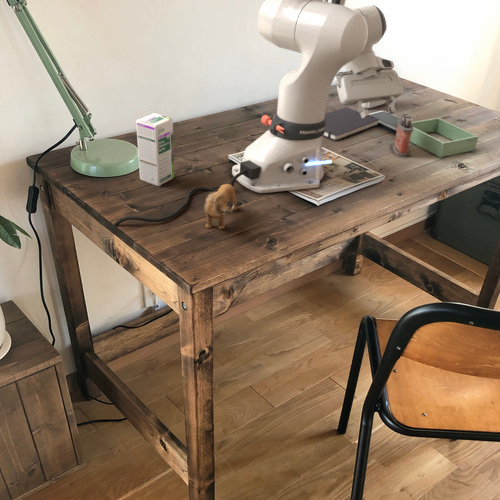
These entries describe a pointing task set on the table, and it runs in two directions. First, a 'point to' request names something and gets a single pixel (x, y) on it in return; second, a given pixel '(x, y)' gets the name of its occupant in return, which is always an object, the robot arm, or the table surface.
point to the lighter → (403, 135)
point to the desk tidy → (460, 137)
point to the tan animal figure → (219, 204)
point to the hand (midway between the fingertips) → (379, 115)
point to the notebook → (346, 123)
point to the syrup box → (155, 149)
